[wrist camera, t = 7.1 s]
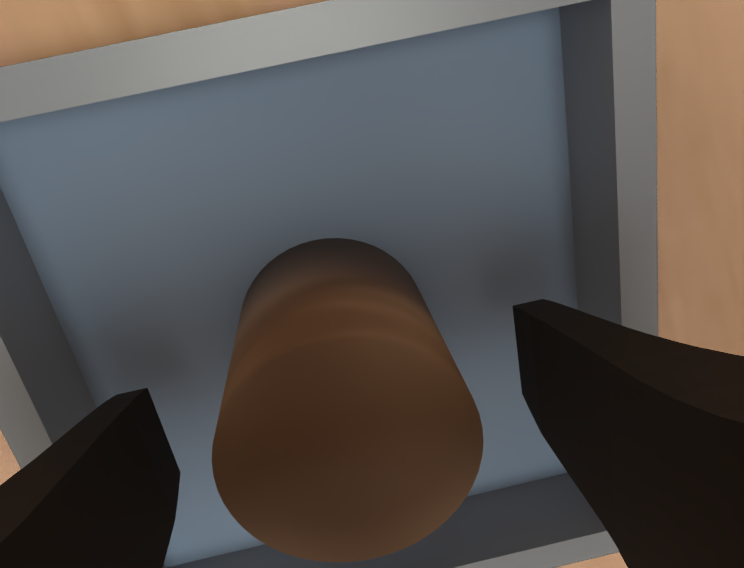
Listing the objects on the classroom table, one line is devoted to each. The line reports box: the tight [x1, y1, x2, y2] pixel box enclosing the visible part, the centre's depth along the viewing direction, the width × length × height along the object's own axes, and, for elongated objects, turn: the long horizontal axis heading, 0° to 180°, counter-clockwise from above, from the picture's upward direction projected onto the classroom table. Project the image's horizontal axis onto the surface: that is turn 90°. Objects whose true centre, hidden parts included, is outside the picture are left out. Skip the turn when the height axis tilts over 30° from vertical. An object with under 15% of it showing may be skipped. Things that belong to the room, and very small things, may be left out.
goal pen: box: [0, 0, 658, 568], centre depth 13 cm, size 14×14×2 cm
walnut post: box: [212, 238, 484, 562], centre depth 12 cm, size 4×4×5 cm
